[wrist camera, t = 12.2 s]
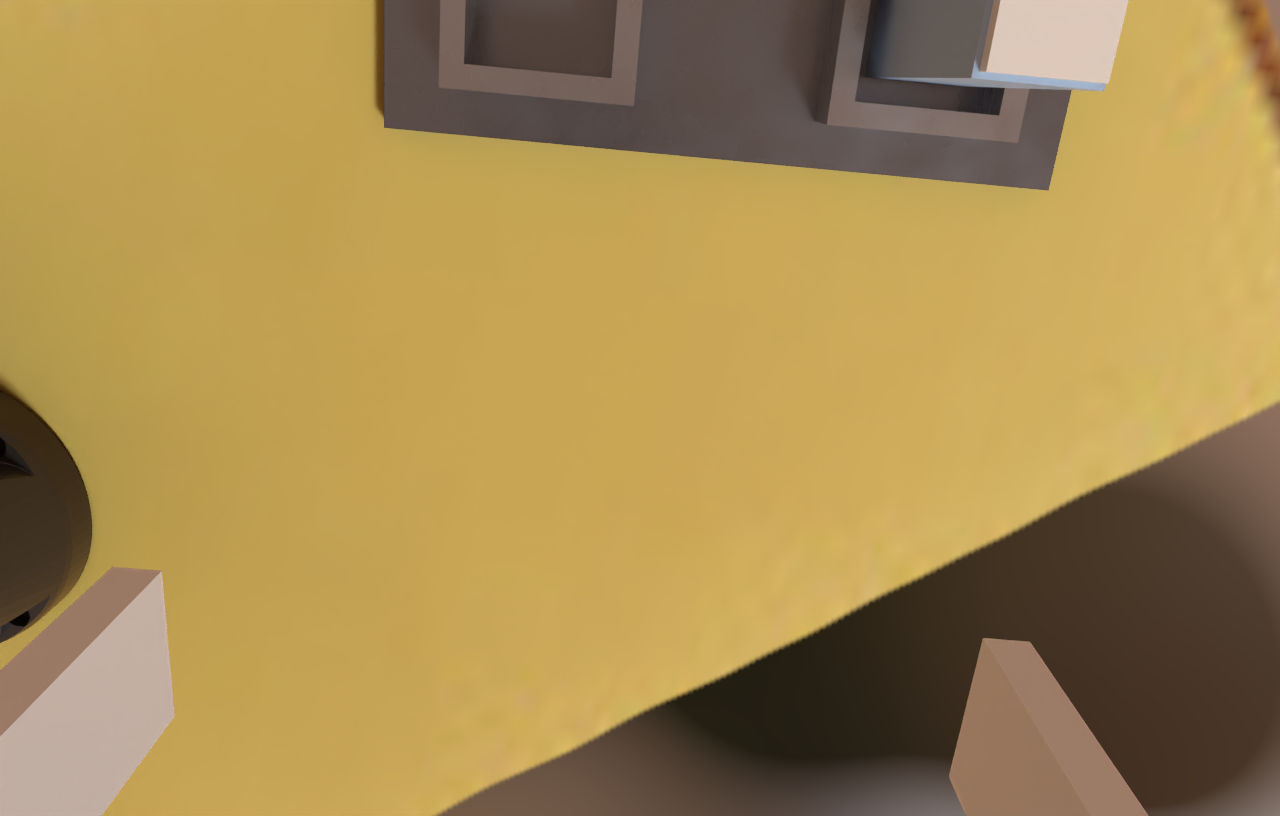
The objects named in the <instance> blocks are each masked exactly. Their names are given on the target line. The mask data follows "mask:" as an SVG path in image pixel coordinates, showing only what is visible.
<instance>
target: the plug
mask: <svg viewBox="0 0 1280 816" xmlns="http://www.w3.org/2000/svg"><path fill="white" fill-rule="evenodd" d="M1128 1H1129V0H879V1H878V8H877V14H876V20H875V26H874V32H873V39H872V45H871V51H870V57H869V63H868V70H867V76H866V77H867V78H877V79H887V80H897V81H908V82H918V83H928V84H939V85H949V86H964V87H995V88H1025V89H1056V90H1086V91H1104V89H1105V85H1106V83H1109V79H1110V75H1111V71H1112V67H1113V63H1114V59H1115V55H1116V51H1117V46H1118V42H1119V38H1120V34H1121V30H1122V26H1123V22H1124V18H1125V13H1126V9H1127V5H1128Z"/></svg>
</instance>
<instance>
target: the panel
mask: <svg viewBox="0 0 1280 816" xmlns="http://www.w3.org/2000/svg"><path fill="white" fill-rule="evenodd" d="M878 1H879V0H384V128H394V129H404V130H415V131H425V132H436V133H447V134H457V135H468V136H478V137H489V138H500V139H510V140H521V141H531V142H542V143H553V144H563V145H574V146H584V147H595V148H605V149H616V150H627V151H637V152H648V153H658V154H669V155H680V156H690V157H701V158H711V159H722V160H732V161H743V162H754V163H764V164H775V165H785V166H796V167H807V168H817V169H828V170H838V171H849V172H860V173H870V174H881V175H891V176H902V177H912V178H923V179H934V180H944V181H955V182H965V183H976V184H987V185H997V186H1008V187H1018V188H1029V189H1039V190H1049V185H1050V181H1051V177H1052V172H1053V168H1054V164H1055V159H1056V155H1057V151H1058V146H1059V142H1060V138H1061V133H1062V129H1063V125H1064V120H1065V116H1066V112H1067V107H1068V103H1069V99H1070V94H1071V90H1056V89H1025V88H995V87H964V86H949V85H939V84H928V83H918V82H908V81H897V80H887V79H877V78H867V77H866V76H867V70H868V63H869V57H870V51H871V45H872V39H873V32H874V26H875V20H876V14H877V8H878Z"/></svg>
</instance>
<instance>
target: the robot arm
mask: <svg viewBox="0 0 1280 816" xmlns="http://www.w3.org/2000/svg"><path fill="white" fill-rule="evenodd" d="M91 539H92V518H91V510H90V505H89V501H88V496H87V493H86V490H85V487H84V484H83V482H82V479H81V477H80V475H79V473H78V471H77V469H76V467H75V465H74V463H73V461H72V460H71V458H70V456H69V455H68V453H67V452H66V450H65V449H64V447H63V446H62V445H61V443H60V442H59V441H58V439H57V438H56V437H55V436H54V435H53V433H52V432H51V431H50V430H49V429H48V428H47V427H46V426H45V425H44V424H43V423H42V422H41V421H40V420H39V419H38V418H37V417H36V416H35V415H34V414H32V413H31V412H30V411H29V410H28V409H26V408H25V407H24V406H23V405H21V404H20V403H18V402H17V401H16V400H14V399H13V398H11V397H10V396H8V395H6V394H5V393H3V392H2V391H0V643H1V642H4V641H6V640H8V639H10V638H12V637H14V636H16V635H18V634H20V633H21V632H23V631H25V630H26V629H28V628H29V627H31V626H32V625H34V624H35V623H36V622H38V621H39V620H40V619H41V618H42V617H43V616H44V615H45V614H47V613H48V612H49V611H50V610H51V609H52V608H53V607H54V606H56V605H57V604H58V603H59V602H60V601H61V600H62V599H63V598H64V597H65V596H66V595H67V594H68V593H69V592H70V591H71V589H72V588H73V587H74V586H75V584H76V583H77V581H78V579H79V578H80V576H81V574H82V572H83V570H84V567H85V565H86V562H87V559H88V556H89V552H90V547H91ZM173 718H174V705H173V694H172V682H171V671H170V660H169V648H168V637H167V626H166V614H165V603H164V592H163V580H162V571H155V570H143V569H131V568H119V567H112V568H111V569H110V570H109V571H108V572H107V573H106V574H104V575H103V576H102V577H101V578H100V579H99V580H98V581H97V582H96V583H95V584H94V585H93V586H91V587H90V588H89V589H88V590H87V591H86V592H85V593H84V594H83V595H82V596H81V597H80V598H78V599H77V600H76V601H75V602H74V603H73V604H72V605H71V606H70V607H69V608H68V609H67V610H65V611H64V612H63V613H62V614H61V615H60V616H59V617H58V618H57V619H56V620H55V621H54V622H52V623H51V624H50V625H49V626H48V627H47V628H46V629H45V630H44V631H43V632H42V633H41V634H39V635H38V636H37V637H36V638H35V639H34V640H33V641H32V642H31V643H30V644H29V645H28V646H26V647H25V648H24V649H23V650H22V651H21V652H20V653H19V654H18V655H17V656H16V657H15V658H13V659H12V660H11V661H10V662H9V663H8V664H7V665H6V666H5V667H4V668H3V669H2V670H0V816H102V814H103V813H104V812H105V810H106V809H107V808H108V806H109V805H110V804H111V802H112V801H113V799H114V798H115V797H116V795H117V794H118V793H119V791H120V790H121V789H122V787H123V786H124V784H125V783H126V782H127V780H128V779H129V778H130V776H131V775H132V774H133V772H134V771H135V769H136V768H137V767H138V765H139V764H140V763H141V761H142V760H143V759H144V757H145V756H146V754H147V753H148V752H149V750H150V749H151V748H152V746H153V745H154V744H155V742H156V741H157V739H158V738H159V737H160V735H161V734H162V733H163V731H164V730H165V729H166V727H167V726H168V724H169V723H170V722H171V720H172V719H173ZM949 777H950V780H951V782H952V785H953V787H954V789H955V791H956V794H957V796H958V798H959V800H960V803H961V805H962V807H963V810H964V812H965V814H966V816H1148V815H1147V813H1146V812H1145V810H1144V809H1143V807H1142V806H1141V804H1140V803H1139V801H1138V800H1137V798H1136V797H1135V795H1134V794H1133V793H1132V791H1131V790H1130V788H1129V787H1128V785H1127V784H1126V783H1125V781H1124V779H1123V778H1122V776H1121V775H1120V774H1119V772H1118V771H1117V769H1116V768H1115V766H1114V765H1113V763H1112V762H1111V760H1110V759H1109V757H1108V756H1107V754H1106V753H1105V752H1104V750H1103V749H1102V747H1101V746H1100V744H1099V743H1098V741H1097V740H1096V738H1095V737H1094V735H1093V734H1092V732H1091V731H1090V730H1089V728H1088V726H1087V725H1086V724H1085V722H1084V721H1083V719H1082V718H1081V716H1080V715H1079V713H1078V712H1077V711H1076V709H1075V708H1074V706H1073V704H1072V703H1071V702H1070V700H1069V699H1068V697H1067V696H1066V695H1065V693H1064V691H1063V690H1062V688H1061V687H1060V685H1059V684H1058V683H1057V681H1056V680H1055V678H1054V677H1053V675H1052V674H1051V672H1050V671H1049V669H1048V668H1047V666H1046V665H1045V663H1044V662H1043V660H1042V659H1041V657H1040V656H1039V655H1038V653H1037V652H1036V650H1035V649H1034V647H1033V646H1032V644H1031V643H1030V642H1024V641H1012V640H1000V639H988V638H983V641H982V645H981V649H980V653H979V657H978V661H977V665H976V669H975V673H974V677H973V681H972V685H971V689H970V693H969V697H968V702H967V706H966V710H965V714H964V718H963V722H962V726H961V730H960V734H959V738H958V742H957V746H956V750H955V754H954V758H953V762H952V766H951V771H950V775H949Z"/></svg>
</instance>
